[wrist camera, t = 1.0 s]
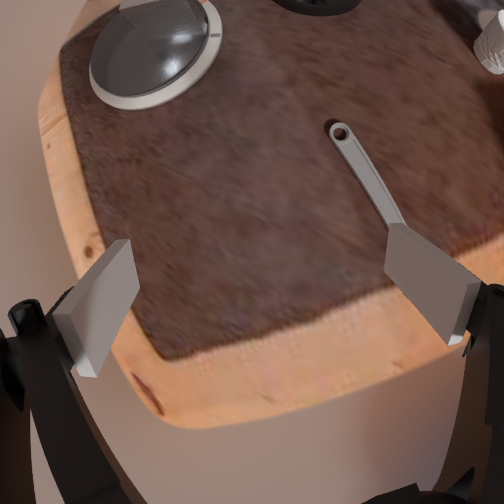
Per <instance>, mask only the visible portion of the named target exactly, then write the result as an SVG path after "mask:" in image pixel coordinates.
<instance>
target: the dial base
mask: <svg viewBox="0 0 504 504" xmlns="http://www.w3.org/2000/svg"><path fill="white" fill-rule="evenodd" d="M198 1H199V2H200V3H201V4H202V6H203V7H204V9H205V11H206V13H207V15H208V17H209V21H210V35H209V39H208V42H207V44H206V47H205V49H204V51H203V52H202V54H201V56H200V57H199V59H198V60H197V61H196V63H195V64H194V65H193V66H192V67H191V68H190V69H189V70H188V71H187V72H186V73H185V74H184V75H183V76H182V77H180V78H179V79H178V80H176V81H175V82H174V83H172V84H170V85H169V86H167V87H165V88H163V89H161V90H160V91H157V92H155V93H152V94H149V95H146V96H142V97H136V98H123V97H118V96H114V95H112V94H110V93H108V92H107V91H105V90H103V89H102V88H101V87H99V85H98V84H97V83H96V82H95V80H94V79H93V76H92V73H91V66H89V76H90V82H91V86H92V88H93V90H94V92H95V93H96V94H97V96H98V97H99V98H100V99H101V100H102V101H104V102H106V103H107V104H109V105H111V106H113V107H115V108H118V109H122V110H130V111H136V110H145V109H149V108H153V107H156V106H159V105H162V104H164V103H167V102H169V101H171V100H173V99H174V98H176V97H178V96H180V95H181V94H183V93H184V92H185V91H187V90H188V89H189V88H191V87H192V86H193V85H194V84H195V83H197V82H198V81H199V80H200V79H201V78H202V77H203V76H204V74H205V73H206V72H207V71H208V69H209V68H210V67H211V65H212V64H213V62H214V61H215V59H216V57H217V55H218V53H219V50H220V47H221V44H222V39H223V26H222V21H221V19H220V16H219V14H218V12H217V10H216V8H215V7H214V6H213V5H212V4H211V3H210V2H209V1H208V0H198ZM90 61H91V60H90Z"/></svg>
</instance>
